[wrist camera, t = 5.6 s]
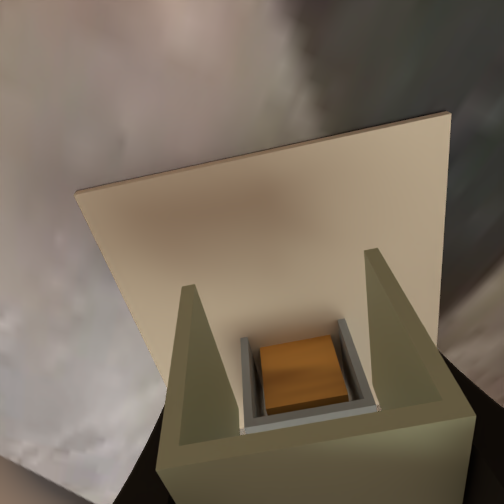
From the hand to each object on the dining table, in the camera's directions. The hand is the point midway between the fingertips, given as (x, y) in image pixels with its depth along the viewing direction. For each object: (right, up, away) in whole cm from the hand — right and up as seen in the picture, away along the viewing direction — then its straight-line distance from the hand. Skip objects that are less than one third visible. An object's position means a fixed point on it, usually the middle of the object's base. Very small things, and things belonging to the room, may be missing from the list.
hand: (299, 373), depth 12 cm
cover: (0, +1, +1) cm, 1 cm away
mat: (0, +1, +10) cm, 10 cm away
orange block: (+1, -3, +12) cm, 12 cm away
